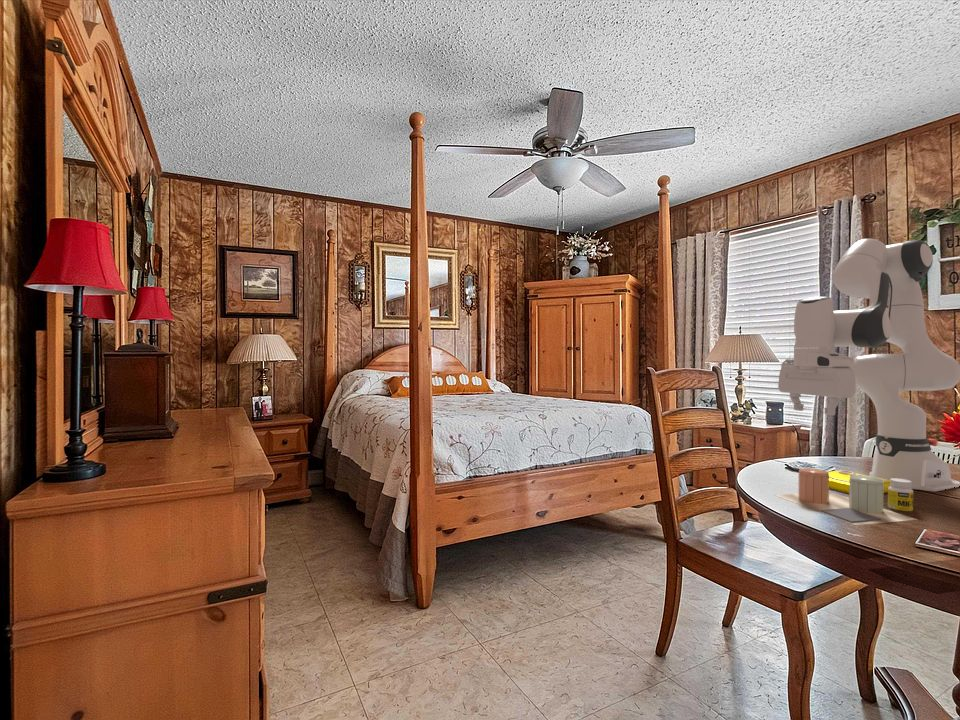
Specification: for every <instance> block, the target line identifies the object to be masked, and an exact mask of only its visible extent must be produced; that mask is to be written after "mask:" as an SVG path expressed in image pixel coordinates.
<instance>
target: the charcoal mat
mask: <svg viewBox="0 0 960 720" xmlns="http://www.w3.org/2000/svg"><path fill="white" fill-rule="evenodd" d="M821 512H824V513H826V514H829V515H832V516H835V517H837V518H840V519H843V520H846V521H848V522H851V523H855V522H866V521H877V520H881V519H880V518H877V517H874V516H871V515H868V514H865V513H862V512H859V511H856V510H853V509H850V508H841V509H829V510H821ZM821 512H820V513H821ZM824 513H823V514H824ZM826 514H825V515H826ZM829 515H828V516H829ZM832 516H831V517H832ZM835 517H834V518H835ZM837 518H836V519H837ZM840 519H839V520H840ZM843 520H842V521H843ZM848 522H847V523H848ZM851 523H850V524H851Z"/></svg>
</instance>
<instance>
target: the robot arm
mask: <svg viewBox="0 0 960 720" xmlns="http://www.w3.org/2000/svg"><path fill="white" fill-rule="evenodd" d="M933 260H934V259H933V252H932V250H931V247H930V246H929V244H928V243H927V242H925V241H923V240H921V239H914V240H906V241H904V242H898V243H893V244H887V245H886V244H885V243H884V242H882V241H881V240H879V239H875V238H862V239H860V240H858V241H856V242H854V243H852V245H851V246H849V248H848V249H847V250H846V251H845V252H844V253H843V255H842V256H841V258H840V259H839V261H838V263H837V264H836V267H835V268H834V271H833V274H832V282H833V285H834V287H835V288H836V289H837V290H838V291H839V292H840V293H842V294H843V295H845V296H847V297H852V298H856V299H857V298H858V299H859V298H860V299H861V298H862V299H867V300H869V303H868V306H866V307H863V308H856V309H843V310H835V308H834V302H833V299H832V297H830V296H813V297H808V298H802V299H800V300H799V301H798V302H797V303H796V307H795V310H794V311H795V312H794V319H793V334H794V335H795V336H794V337H795V342H794V345H793V359H792V358H787V359H785V360H784V361H783V362H781V367H780V370H779V375H778V383H777V384H778V385H777V386H778V387H777V388H778V390H779V392H781V393H787V394H789V398H790V401H792V404H793V410H794V411H796V412H797V411H798V412H803V411H804V410H805V408H804V407H805V406H804V405H805V404H804V403H802V402H801V399H800V398H801V397H802V395H809V396H819V397H827V401H828V402H829V403H828V405H827V407H824V415H828V416H836V409H837V407H838V405H839V404H840V402H841V399H850V398H853V397H854V396H855V394H856V391H857V388H859V389H860V390H861V391H863V393H865V394H866V395H867V396H868V397H869V398H870V400H871V401H872V403H873V405H874V407H875V411H876V417H877V420H876V421H877V433H876V435H875V437H874V438H875V439H874V440H875V446H876V449H875V450H874V453H873V459H872V467H871V471H870V472H869V474H868V476H872V477H877V478H881V479H886V480H890V479H891V478H899V479H905V480H909V481H911V483H912V486H911V489H912V490H920V491H927V492H940V491H945V489H946V490H951V489H955V488H959V486H960V481H958V480H955V479H953V478H951V477H952V476H951V473H952V472H951V467H950V465H949V463H947V462H946V461H945V460H943V459H942V458H941V457H940V456H938V455H937V454H936V453H934V452H933V451H932V448H931V446H933V447H937V446H938V444H939V440H937V439H936V438H927V415H926V412H925V410H924V409H923V408H922V407H920V406H918V405H916V404H914V403H912V402H910V401H907V400H905V399H903V398H901V397H900V394H899V393H900V391H914V392H915V391H916V392H917V391H918V392H923V391H924V392H933V391H941V390H942V391H943V390H944V391H945V390H951V389H953V388H954V387H955V386H957V384H958V383H959V382H960V363H959V362H958V361H957V360H956V359H955V357H952V356H951V355H949V354H947V353H946V352H943V351H942V350H941V349H939V348H938V347H937V346H936V345H935V344H934V343H933V341H932V340H931V339H930V337H929V334H928V332H927V327H926V320H925V308H924V307H925V305H924V297H923V292H922V289H921V285H920V281H921V280H922V279H923V278H924V276H925V275H926V274H927V273H928V272H929V271H930V269H931V268H932V266H933V263H934V261H933ZM885 342H886V343H889V344H892V345H895V346H897V347H899V348H900V349H901V350H902V352H903V353H873V354H865V355H860V356H856V357H855V358H853V357H850V356H848V355H844V354H842V353H839V352H836V348H838V347H839V348H842V347H843V348H846V347H848V348H849V347H850V348H851V347H854V348H855V347H858V348H870V349H871V348H873V349H875V348H878V347H880V346H881V345H882V344H884V343H885ZM954 487H955V488H954Z"/></svg>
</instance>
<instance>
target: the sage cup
mask: <svg viewBox="0 0 960 720" xmlns="http://www.w3.org/2000/svg"><path fill="white" fill-rule="evenodd" d="M848 494H849V495H848V498H849V507H850V508H851V509H853V510H856V511H860V512H865V513H873V514H878V513H883V509H884V500H885V499H884V494H885V493H884V483H883V480H882V479H879V478H875V477H870V476H869V475H867V476H860V475H854V476H850V480H849V493H848Z"/></svg>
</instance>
